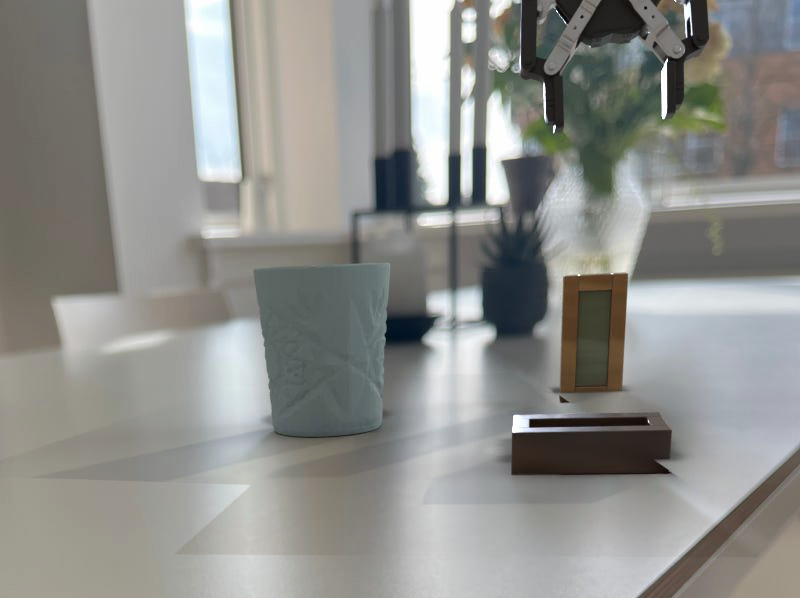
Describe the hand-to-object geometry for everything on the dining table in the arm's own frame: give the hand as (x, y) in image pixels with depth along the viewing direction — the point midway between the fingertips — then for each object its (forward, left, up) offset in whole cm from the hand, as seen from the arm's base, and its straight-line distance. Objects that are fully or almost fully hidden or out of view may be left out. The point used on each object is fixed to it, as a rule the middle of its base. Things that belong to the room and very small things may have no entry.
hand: (613, 123), depth 82 cm
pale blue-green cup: (+24, +11, -21) cm, 34 cm away
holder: (+8, +29, -21) cm, 36 cm away
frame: (+2, +3, -21) cm, 21 cm away
